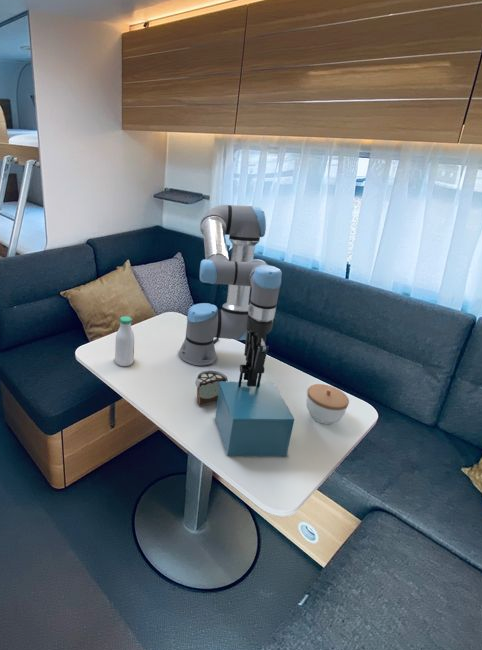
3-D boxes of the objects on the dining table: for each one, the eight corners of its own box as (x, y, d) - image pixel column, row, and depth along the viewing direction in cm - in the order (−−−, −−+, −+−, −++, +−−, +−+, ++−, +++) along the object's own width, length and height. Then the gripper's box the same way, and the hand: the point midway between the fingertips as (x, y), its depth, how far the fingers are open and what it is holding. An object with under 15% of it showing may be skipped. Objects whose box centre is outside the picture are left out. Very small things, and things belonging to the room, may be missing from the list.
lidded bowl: (296, 405, 146) (301, 379, 142) (330, 404, 147) (336, 378, 143) (314, 430, 134) (321, 402, 130) (351, 429, 135) (358, 401, 131)
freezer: (214, 419, 138) (219, 387, 133) (267, 420, 138) (273, 388, 134) (227, 455, 123) (232, 420, 118) (286, 456, 123) (294, 421, 119)
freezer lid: (218, 383, 134) (222, 360, 130) (273, 384, 134) (278, 361, 131) (232, 420, 118) (237, 396, 115) (294, 421, 119) (300, 396, 115)
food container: (215, 390, 153) (218, 367, 150) (225, 399, 148) (228, 376, 144) (186, 396, 149) (189, 373, 145) (195, 407, 144) (198, 383, 140)
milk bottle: (131, 367, 166) (133, 323, 159) (113, 365, 167) (114, 321, 160) (134, 357, 173) (136, 315, 166) (117, 355, 174) (118, 313, 167)
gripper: (240, 305, 129) (231, 368, 138) (257, 329, 115) (245, 398, 123) (264, 305, 130) (253, 368, 138) (283, 329, 115) (270, 398, 123)
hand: (249, 382), depth 131 cm, fingers closed on freezer lid, 3 cm apart
